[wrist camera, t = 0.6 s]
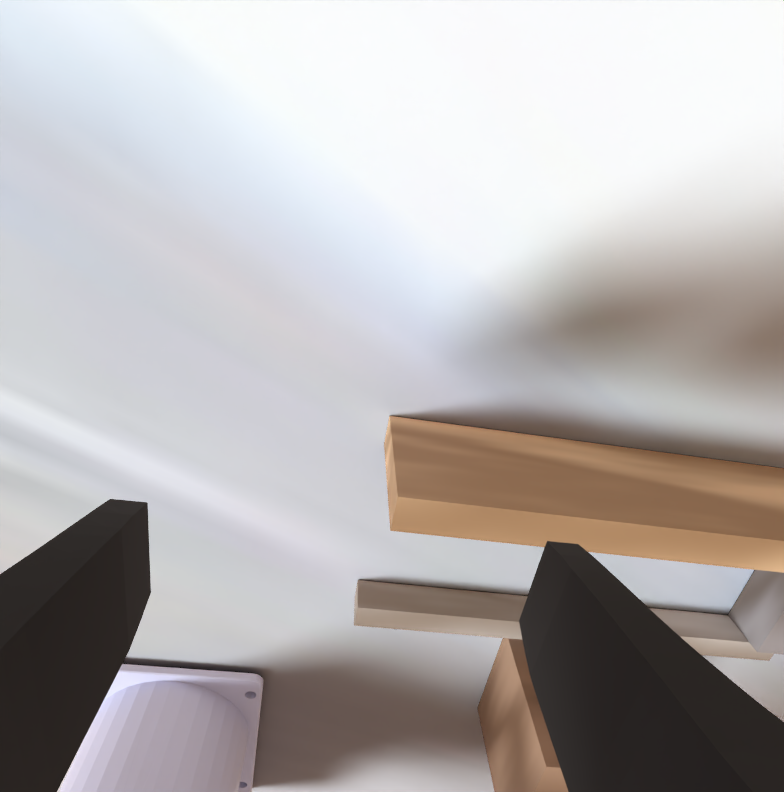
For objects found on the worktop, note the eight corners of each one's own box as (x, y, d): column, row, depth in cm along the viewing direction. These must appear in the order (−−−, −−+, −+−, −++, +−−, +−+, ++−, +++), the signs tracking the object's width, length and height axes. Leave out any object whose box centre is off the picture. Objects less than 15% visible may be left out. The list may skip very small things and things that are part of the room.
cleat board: (747, 633, 25) (831, 738, 21) (354, 597, 23) (352, 706, 18) (845, 476, 21) (974, 562, 17) (389, 415, 19) (398, 496, 15)
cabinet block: (561, 712, 27) (618, 874, 21) (477, 707, 27) (510, 871, 20) (596, 637, 25) (671, 794, 19) (505, 629, 24) (552, 788, 18)
